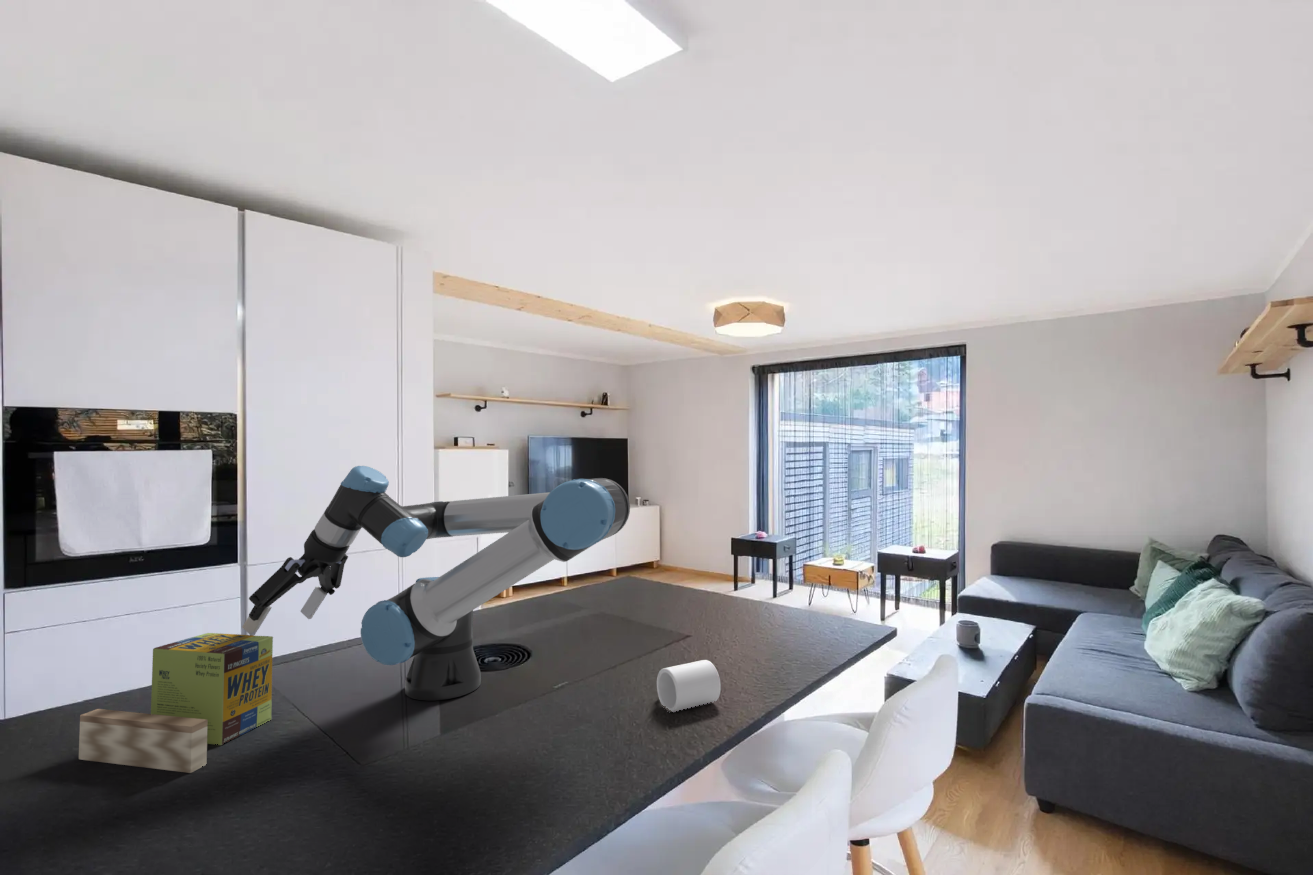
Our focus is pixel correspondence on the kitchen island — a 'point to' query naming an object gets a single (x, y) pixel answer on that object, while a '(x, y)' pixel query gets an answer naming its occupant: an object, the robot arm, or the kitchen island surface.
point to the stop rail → (143, 740)
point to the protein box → (215, 682)
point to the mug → (688, 685)
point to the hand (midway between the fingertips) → (278, 622)
